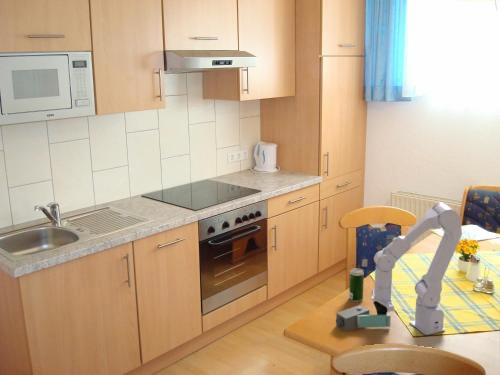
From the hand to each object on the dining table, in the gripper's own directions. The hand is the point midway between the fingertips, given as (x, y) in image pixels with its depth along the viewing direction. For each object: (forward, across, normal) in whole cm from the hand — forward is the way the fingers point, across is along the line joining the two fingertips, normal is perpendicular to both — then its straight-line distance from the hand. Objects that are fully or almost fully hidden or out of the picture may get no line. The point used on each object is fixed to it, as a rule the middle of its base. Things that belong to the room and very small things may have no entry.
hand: (381, 321), depth 190 cm
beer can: (+2, -23, -1) cm, 23 cm away
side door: (+1, +1, -3) cm, 4 cm away
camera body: (+2, -3, -10) cm, 11 cm away
